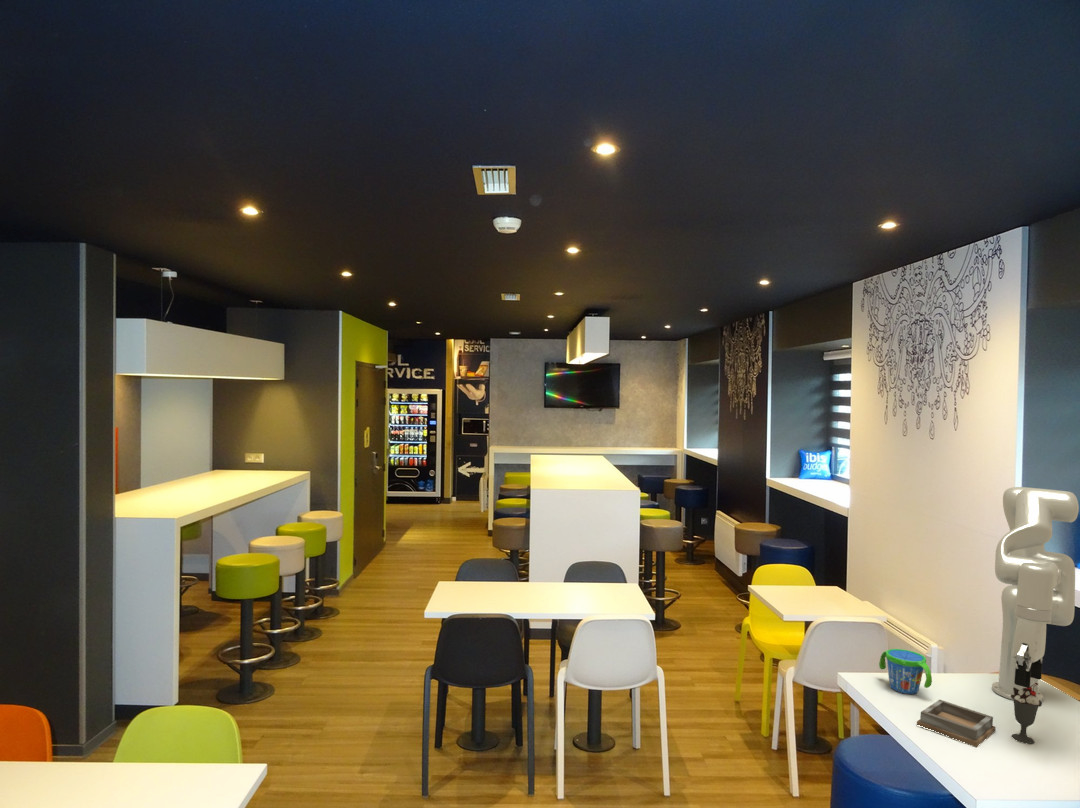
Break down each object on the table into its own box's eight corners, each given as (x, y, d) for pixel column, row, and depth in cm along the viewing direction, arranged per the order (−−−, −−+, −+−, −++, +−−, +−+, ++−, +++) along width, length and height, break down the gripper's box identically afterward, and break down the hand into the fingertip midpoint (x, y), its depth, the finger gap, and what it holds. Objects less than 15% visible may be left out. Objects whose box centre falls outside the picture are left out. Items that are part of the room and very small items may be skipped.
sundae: (1043, 747, 187) (1048, 687, 187) (1013, 743, 189) (1018, 683, 188) (1032, 735, 194) (1036, 677, 193) (1003, 731, 195) (1007, 673, 195)
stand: (937, 711, 205) (938, 698, 205) (995, 731, 195) (996, 717, 195) (916, 725, 196) (917, 711, 196) (976, 747, 185) (977, 732, 185)
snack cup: (868, 680, 225) (871, 646, 225) (896, 677, 229) (898, 644, 228) (911, 702, 210) (914, 666, 210) (940, 699, 214) (942, 663, 214)
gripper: (1026, 605, 199) (1021, 670, 199) (1005, 614, 187) (1000, 684, 187) (1060, 612, 193) (1054, 679, 193) (1040, 623, 181) (1035, 694, 182)
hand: (1027, 681), depth 190 cm, fingers open, 9 cm apart
